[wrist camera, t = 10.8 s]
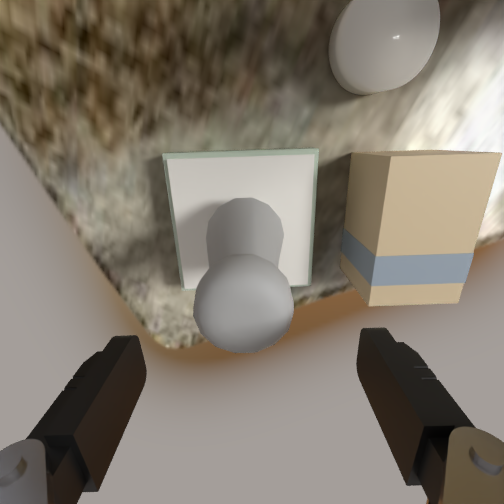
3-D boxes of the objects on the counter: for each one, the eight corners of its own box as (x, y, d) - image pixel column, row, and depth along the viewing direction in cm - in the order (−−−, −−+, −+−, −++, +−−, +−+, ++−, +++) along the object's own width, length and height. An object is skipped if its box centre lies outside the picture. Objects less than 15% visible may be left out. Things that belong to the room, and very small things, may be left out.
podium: (311, 147, 23) (320, 148, 21) (305, 273, 28) (311, 288, 25) (170, 152, 23) (160, 153, 21) (187, 277, 28) (181, 292, 25)
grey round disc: (322, 5, 19) (339, -15, 17) (410, -21, 19) (441, -46, 17) (334, 105, 22) (350, 101, 19) (411, 82, 22) (438, 75, 19)
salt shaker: (271, 263, 24) (295, 387, 12) (206, 252, 24) (164, 369, 12) (287, 198, 22) (335, 269, 10) (216, 184, 21) (176, 242, 9)
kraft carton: (432, 149, 24) (503, 152, 17) (409, 265, 28) (459, 303, 21) (350, 152, 24) (390, 156, 17) (339, 267, 28) (368, 306, 21)
